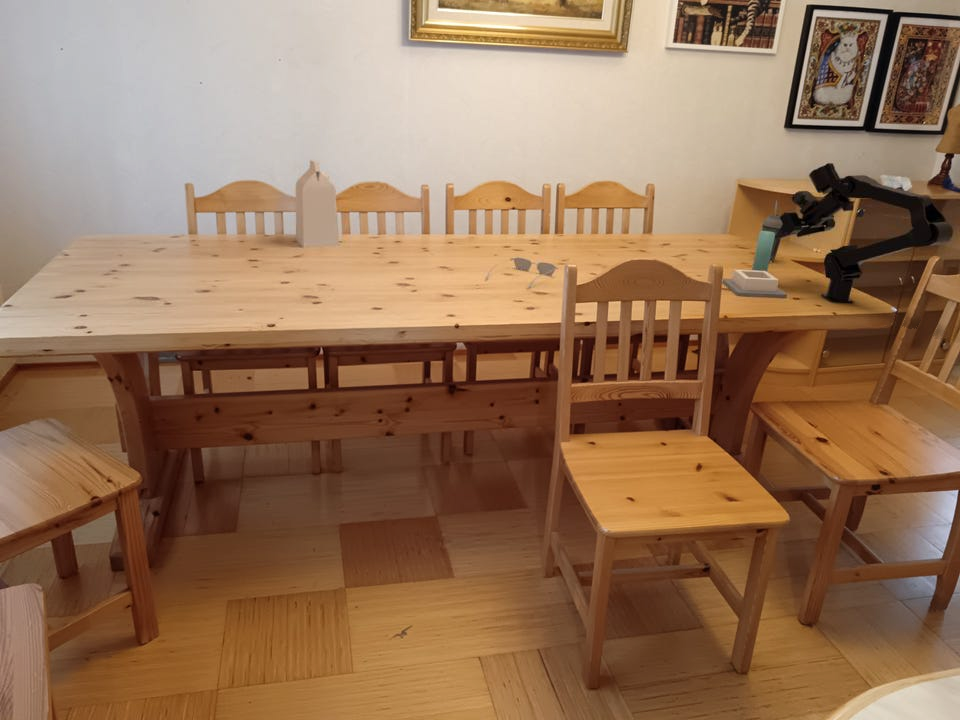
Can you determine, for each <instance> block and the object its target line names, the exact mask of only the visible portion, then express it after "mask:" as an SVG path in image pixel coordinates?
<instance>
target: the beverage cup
mask: <svg viewBox="0 0 960 720" xmlns="http://www.w3.org/2000/svg"><path fill="white" fill-rule="evenodd" d="M777 209H778V200H775V206H774V214H773V213H772V214H770V215H769V216H767V217H766V218H765V219H764V221H763V224H762V228H761V231H770V232H774V233H775V236H776V234H777V233H778V231H779V230H780V228H781V226H782V224H783V223H782V221H781V219H780V215H781V214H780V215H779V214H777ZM781 240H782V238H780V239H776V237H774V242H773V247H772V251H771V256H770V261H774V262H775V258H776V256H777V253H778V249H779V247H780V243H781ZM770 261H769V263H771V262H770Z"/></svg>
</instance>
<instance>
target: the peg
mask: <svg viewBox="0 0 960 720" xmlns="http://www.w3.org/2000/svg"><path fill="white" fill-rule="evenodd" d="M774 237H775V233H774V232H770V231H762V230H760V231H759V235H758V239H757V244H756V249H755V255H754V259H753V264H752V269H751V270H756V271H767V272H768V269H769V265H770V262H769V261H770V256H771V251H772V247H773V242H774Z"/></svg>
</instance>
